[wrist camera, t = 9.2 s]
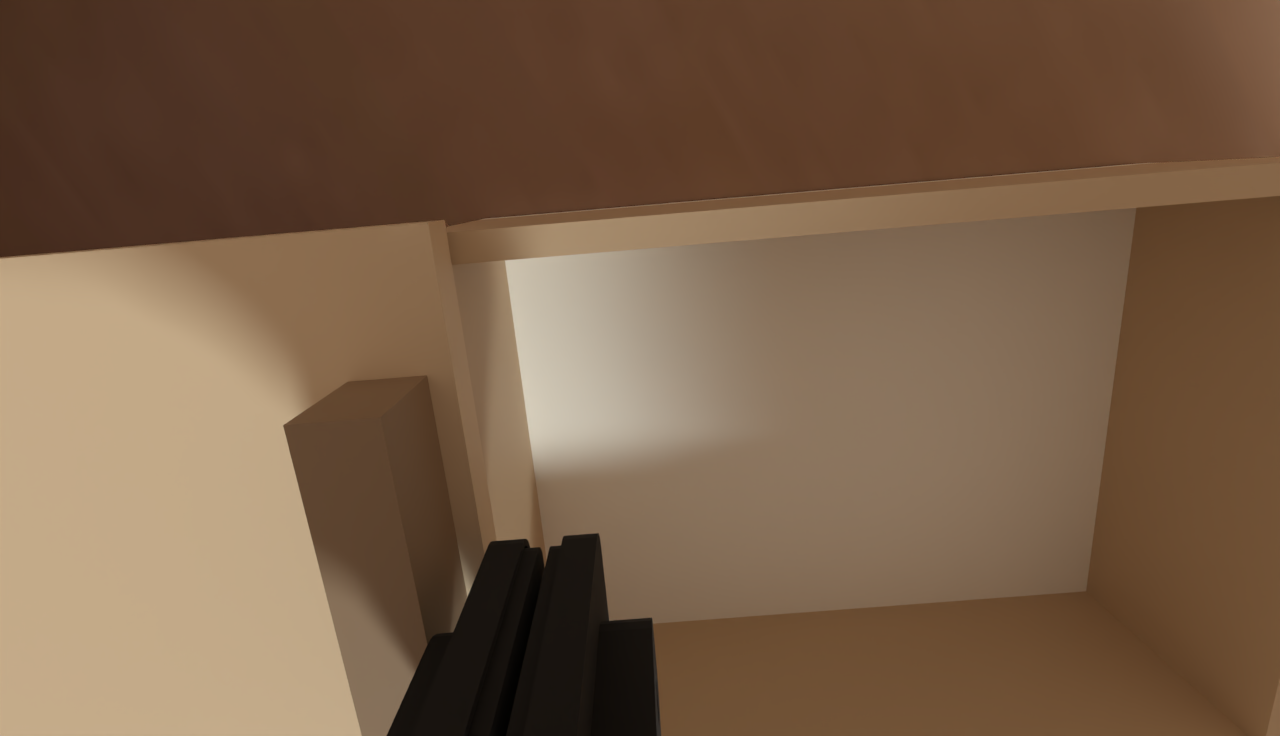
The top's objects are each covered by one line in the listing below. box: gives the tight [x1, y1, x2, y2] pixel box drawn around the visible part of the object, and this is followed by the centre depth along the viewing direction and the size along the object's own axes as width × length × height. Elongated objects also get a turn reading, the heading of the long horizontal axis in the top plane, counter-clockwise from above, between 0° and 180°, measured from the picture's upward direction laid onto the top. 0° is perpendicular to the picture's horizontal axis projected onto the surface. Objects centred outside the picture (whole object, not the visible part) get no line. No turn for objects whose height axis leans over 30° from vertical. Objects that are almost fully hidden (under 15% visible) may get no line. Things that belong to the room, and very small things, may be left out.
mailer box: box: [446, 157, 1280, 736], centre depth 14 cm, size 16×12×6 cm
